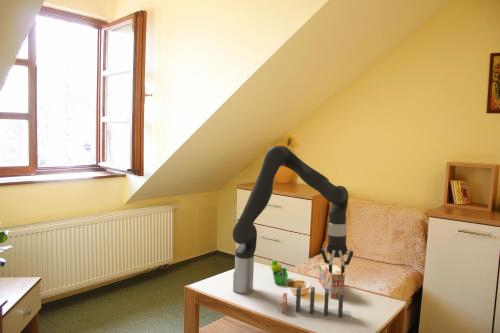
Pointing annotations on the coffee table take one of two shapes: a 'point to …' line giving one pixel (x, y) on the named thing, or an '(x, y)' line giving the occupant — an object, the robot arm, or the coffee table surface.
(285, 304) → the domino
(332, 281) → the multicoloured printed box
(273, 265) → the fruit basket
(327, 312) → the domino
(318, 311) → the mat
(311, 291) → the domino
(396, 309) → the coffee table surface
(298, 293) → the domino
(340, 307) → the domino
